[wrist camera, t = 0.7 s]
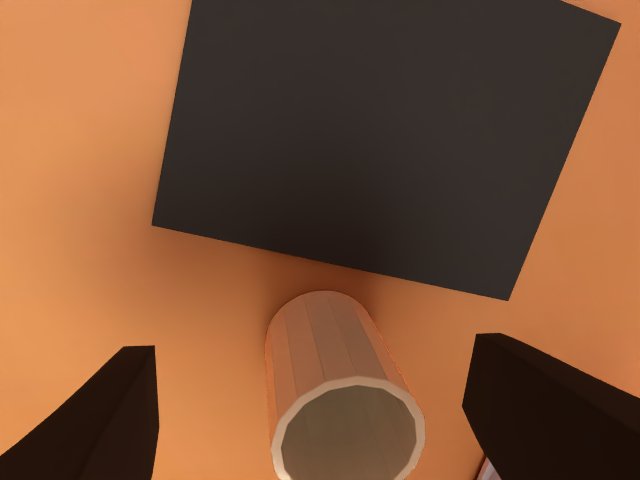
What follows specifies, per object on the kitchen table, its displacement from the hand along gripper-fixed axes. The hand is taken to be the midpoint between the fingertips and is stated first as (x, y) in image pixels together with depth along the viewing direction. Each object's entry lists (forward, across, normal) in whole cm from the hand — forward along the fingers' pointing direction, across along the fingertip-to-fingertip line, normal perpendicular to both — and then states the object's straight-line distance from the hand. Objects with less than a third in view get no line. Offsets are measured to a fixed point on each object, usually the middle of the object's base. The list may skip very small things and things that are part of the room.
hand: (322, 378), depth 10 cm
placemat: (+11, -4, -5) cm, 13 cm away
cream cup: (+11, -2, +6) cm, 12 cm away
